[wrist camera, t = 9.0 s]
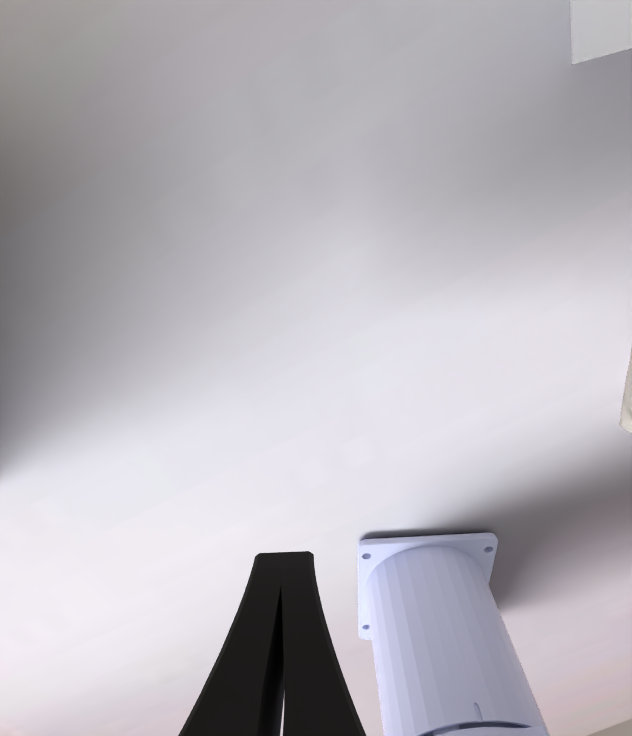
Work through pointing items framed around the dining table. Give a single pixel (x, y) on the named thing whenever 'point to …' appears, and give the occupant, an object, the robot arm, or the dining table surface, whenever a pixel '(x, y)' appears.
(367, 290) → the dining table surface
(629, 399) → the packaged product
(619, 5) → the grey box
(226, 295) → the dining table surface
